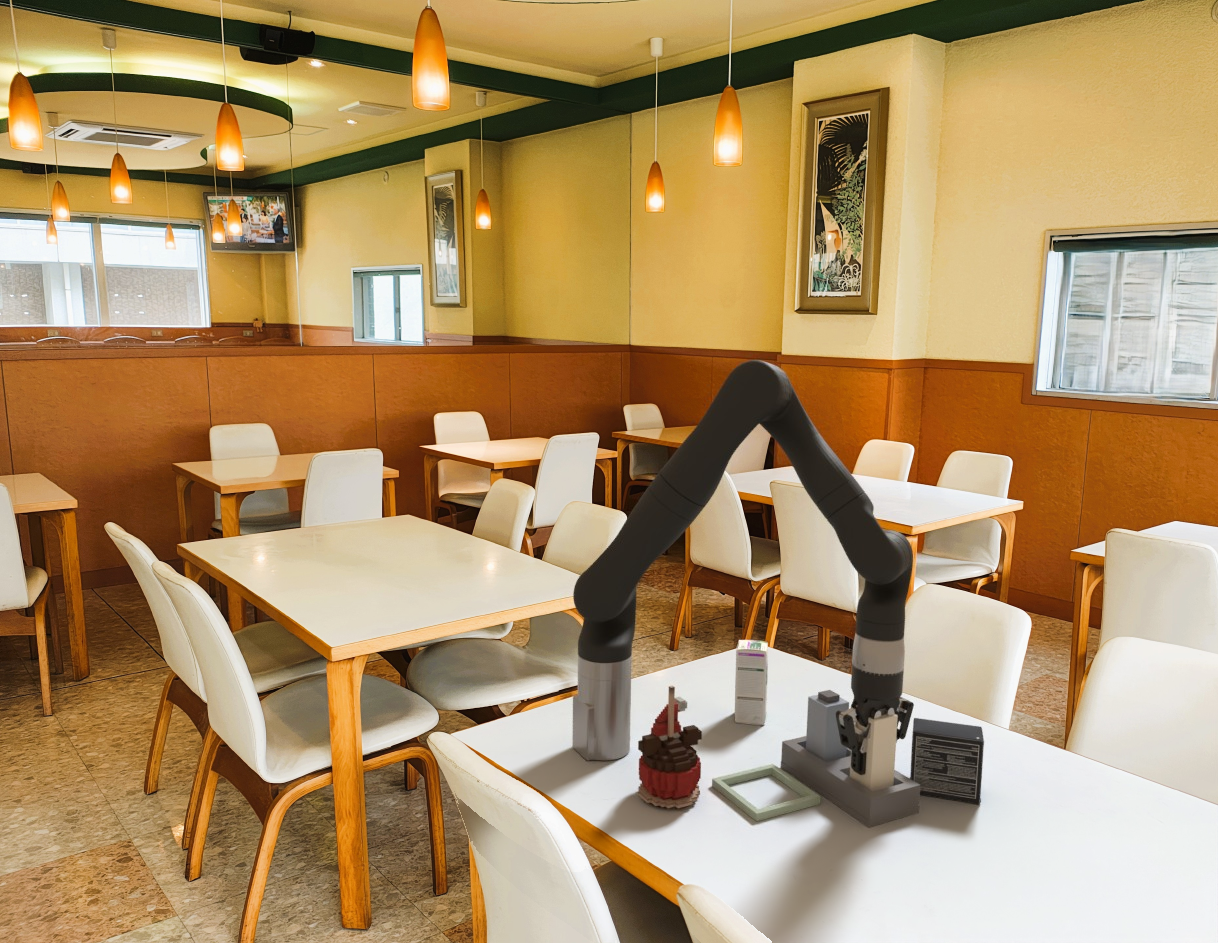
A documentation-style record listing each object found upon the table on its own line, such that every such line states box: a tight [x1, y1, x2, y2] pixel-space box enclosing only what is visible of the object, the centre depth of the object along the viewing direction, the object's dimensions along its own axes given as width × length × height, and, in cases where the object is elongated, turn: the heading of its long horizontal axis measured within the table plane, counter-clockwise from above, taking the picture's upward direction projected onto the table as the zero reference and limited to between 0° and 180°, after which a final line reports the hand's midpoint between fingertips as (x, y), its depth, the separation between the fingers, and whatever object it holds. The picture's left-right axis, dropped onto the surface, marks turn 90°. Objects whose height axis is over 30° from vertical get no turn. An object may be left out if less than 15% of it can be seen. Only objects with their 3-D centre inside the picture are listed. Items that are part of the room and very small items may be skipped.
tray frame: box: [711, 763, 821, 822], centre depth 142 cm, size 12×12×1 cm
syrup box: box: [734, 639, 769, 726], centre depth 170 cm, size 6×6×14 cm
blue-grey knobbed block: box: [805, 689, 850, 762], centre depth 148 cm, size 5×5×13 cm
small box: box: [909, 717, 985, 805], centre depth 144 cm, size 11×6×10 cm, turn 71°
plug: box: [850, 708, 898, 791], centre depth 138 cm, size 5×5×13 cm
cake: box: [637, 685, 703, 809], centre depth 140 cm, size 11×9×18 cm
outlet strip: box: [780, 735, 921, 828], centre depth 144 cm, size 10×21×4 cm, turn 27°
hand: (871, 768), depth 139 cm, fingers closed on plug, 4 cm apart
